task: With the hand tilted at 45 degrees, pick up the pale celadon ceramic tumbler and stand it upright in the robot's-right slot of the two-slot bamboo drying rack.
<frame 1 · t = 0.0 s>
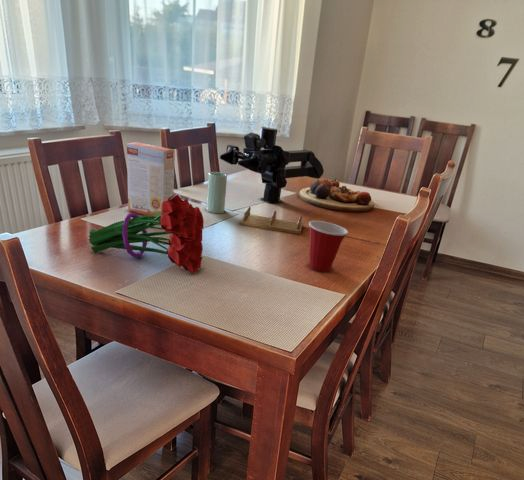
hand: (229, 159, 166), 17 cm above the table, tool horizontal, fingers open, 9 cm apart
plastic cup: (320, 268, 134), on the table
bouquet: (143, 260, 123), on the table
cracker box: (150, 214, 157), on the table
tumbler: (215, 210, 170), on the table
wooden plate: (335, 202, 204), on the table
drying rack: (272, 225, 163), on the table
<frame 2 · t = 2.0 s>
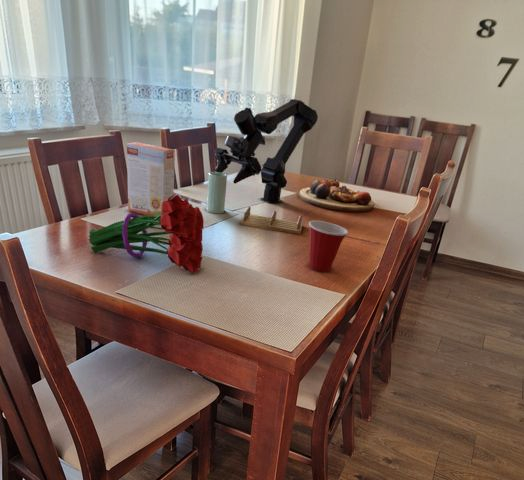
hand: (224, 179, 166), 10 cm above the table, tool tilted 45°, fingers open, 9 cm apart
nothing on the table moved.
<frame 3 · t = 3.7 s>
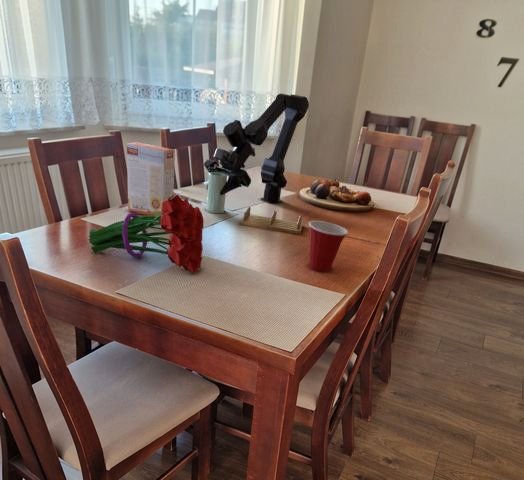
hand: (213, 192, 165), 7 cm above the table, tool tilted 45°, fingers closed on tumbler, 6 cm apart
tumbler: (215, 210, 169), on the table, touching gripper
everything else where it was.
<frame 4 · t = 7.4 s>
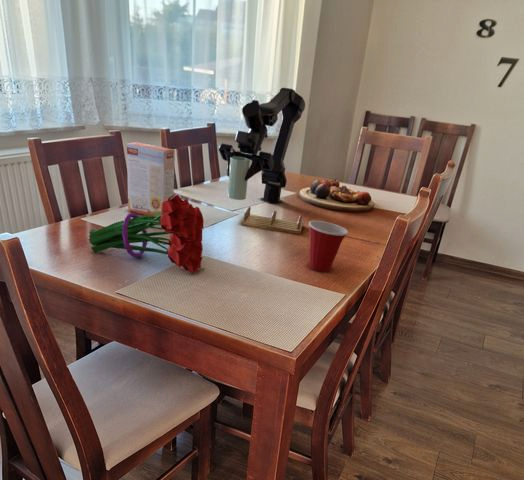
hand: (236, 177, 157), 13 cm above the table, tool tilted 45°, fingers closed on tumbler, 6 cm apart
tumbler: (236, 197, 162), point 7 cm above the table, touching gripper
everything else where it was.
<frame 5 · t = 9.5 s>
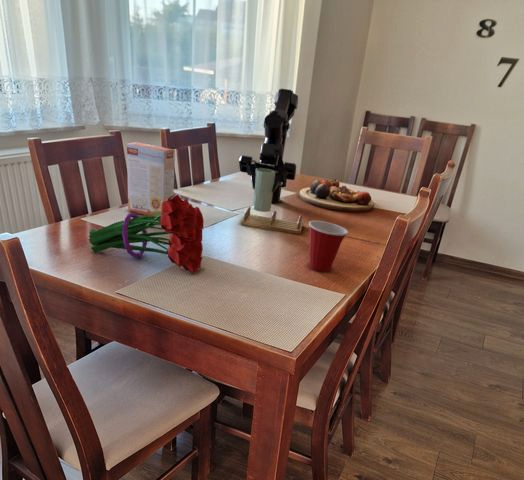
hand: (263, 190, 156), 11 cm above the table, tool tilted 45°, fingers closed on tumbler, 6 cm apart
tumbler: (261, 209, 161), point 5 cm above the table, touching gripper
everything else where it was.
when the fingers open (8 cm above the table, at t = 11.1 s): tumbler stays where it is, resting on drying rack.
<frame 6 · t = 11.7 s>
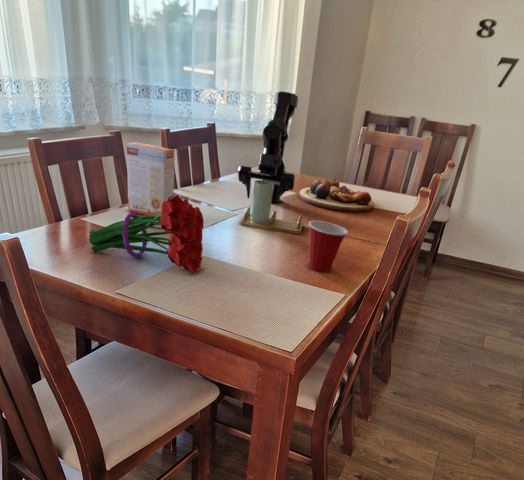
hand: (261, 199, 158), 8 cm above the table, tool tilted 45°, fingers open, 9 cm apart
tumbler: (259, 220, 163), point 1 cm above the table, touching drying rack
everything else where it was.
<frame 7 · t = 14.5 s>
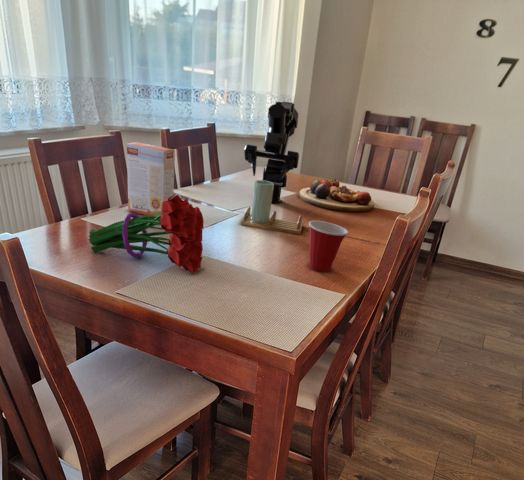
hand: (267, 177, 163), 14 cm above the table, tool tilted 45°, fingers open, 9 cm apart
nothing on the table moved.
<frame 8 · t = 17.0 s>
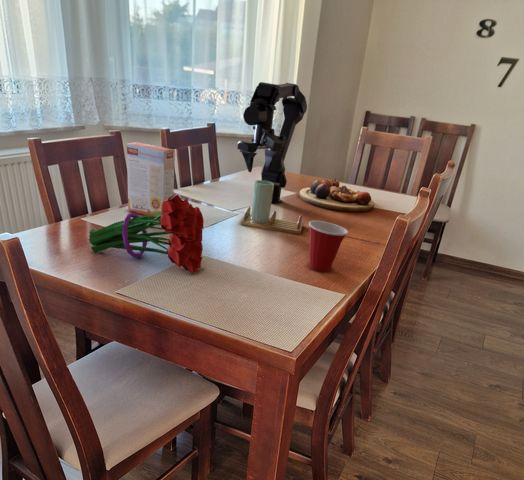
hand: (258, 171, 173), 13 cm above the table, tool pointing down, fingers open, 9 cm apart
nothing on the table moved.
at the end: tumbler 0.0 cm from the target spot on the drying rack, point 1.0 cm above the drying rack's base; tumbler tilted 0°; the gripper is holding nothing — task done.
